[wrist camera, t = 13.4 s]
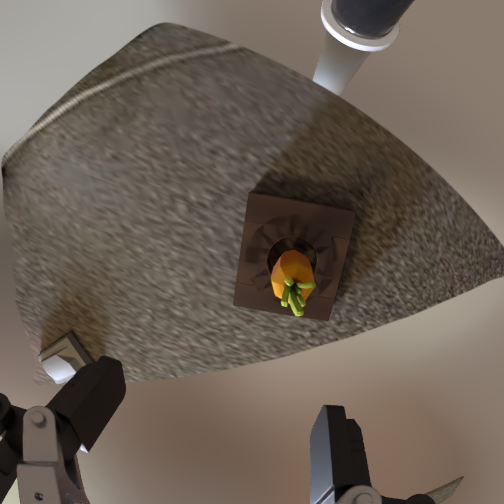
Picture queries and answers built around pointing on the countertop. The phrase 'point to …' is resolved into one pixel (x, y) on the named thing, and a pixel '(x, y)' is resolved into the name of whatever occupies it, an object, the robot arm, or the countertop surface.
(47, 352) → the soap mold
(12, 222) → the countertop surface
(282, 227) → the socket board
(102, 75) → the countertop surface
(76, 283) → the countertop surface
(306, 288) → the carrot
